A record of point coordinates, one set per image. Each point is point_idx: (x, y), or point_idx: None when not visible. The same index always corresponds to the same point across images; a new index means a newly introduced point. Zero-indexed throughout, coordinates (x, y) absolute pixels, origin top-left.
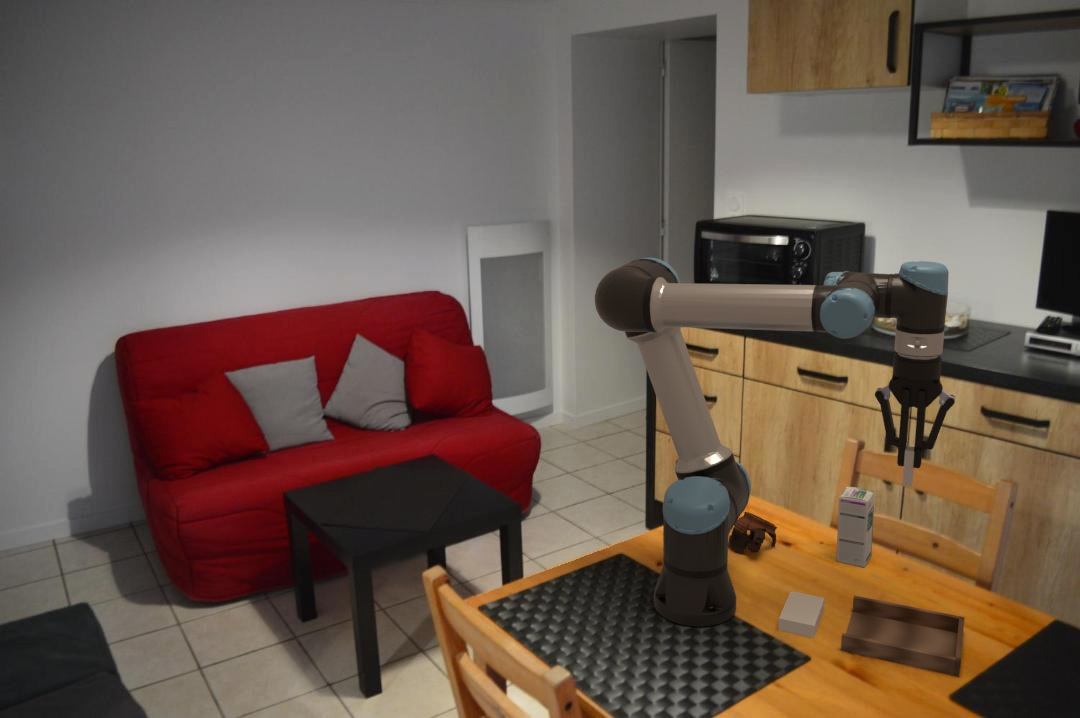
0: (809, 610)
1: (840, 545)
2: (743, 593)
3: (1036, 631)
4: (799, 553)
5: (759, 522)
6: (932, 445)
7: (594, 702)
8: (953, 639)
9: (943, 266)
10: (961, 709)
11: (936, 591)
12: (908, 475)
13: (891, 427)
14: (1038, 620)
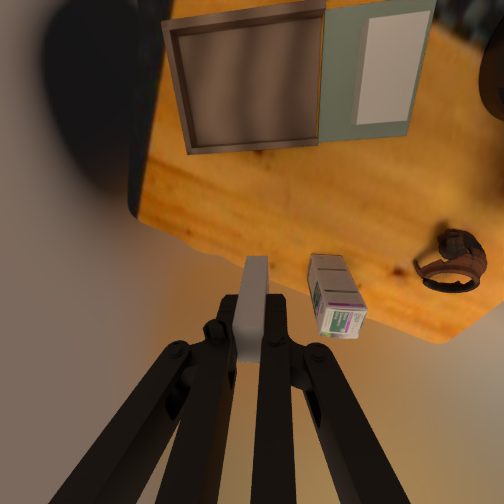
0: (378, 70)
1: (342, 266)
2: (462, 129)
3: (141, 199)
4: (383, 257)
5: (457, 267)
6: (165, 355)
7: None
8: (197, 127)
9: None
10: None
11: (237, 235)
12: (252, 273)
13: (334, 426)
14: (146, 221)
